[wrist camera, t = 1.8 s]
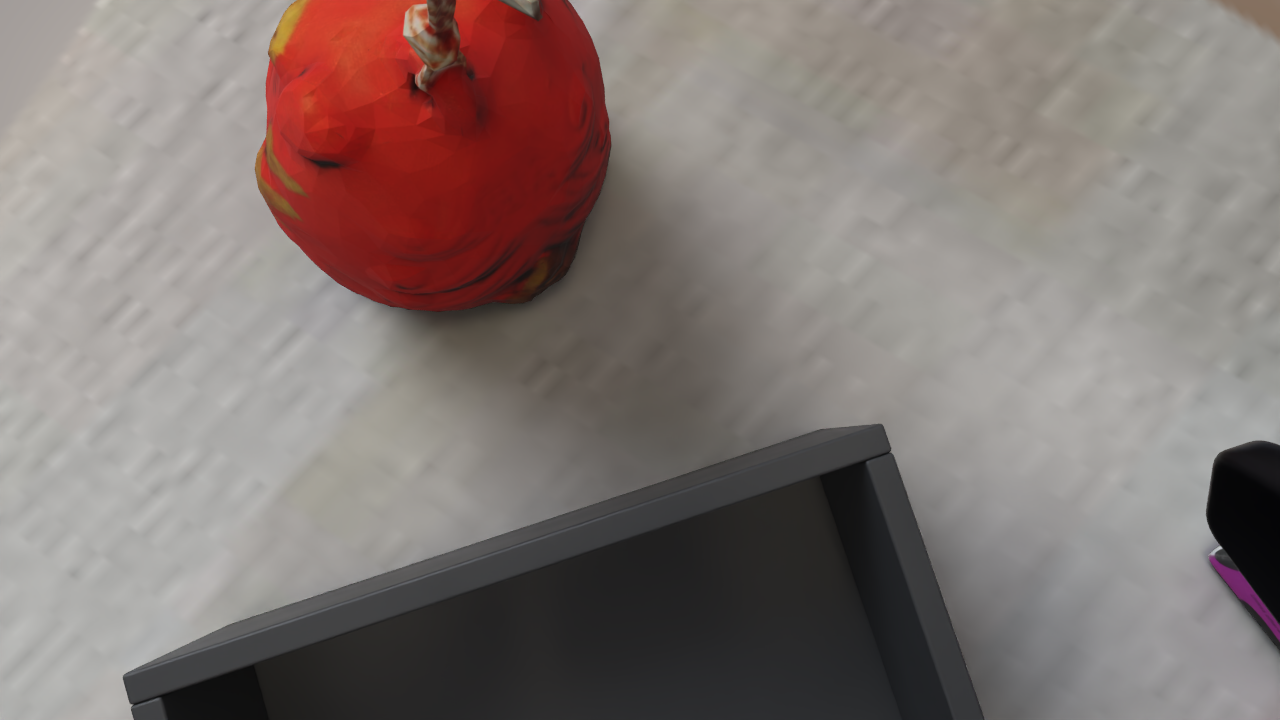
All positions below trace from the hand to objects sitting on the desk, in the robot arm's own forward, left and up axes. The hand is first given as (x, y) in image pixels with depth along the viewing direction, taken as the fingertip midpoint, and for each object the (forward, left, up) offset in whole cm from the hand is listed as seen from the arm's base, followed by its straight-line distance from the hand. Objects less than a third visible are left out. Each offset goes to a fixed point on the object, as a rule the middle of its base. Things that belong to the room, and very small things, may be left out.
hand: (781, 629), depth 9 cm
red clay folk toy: (+9, +2, -15) cm, 18 cm away
